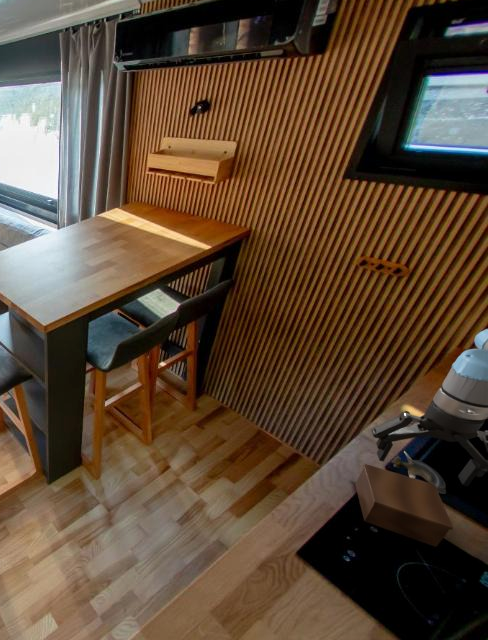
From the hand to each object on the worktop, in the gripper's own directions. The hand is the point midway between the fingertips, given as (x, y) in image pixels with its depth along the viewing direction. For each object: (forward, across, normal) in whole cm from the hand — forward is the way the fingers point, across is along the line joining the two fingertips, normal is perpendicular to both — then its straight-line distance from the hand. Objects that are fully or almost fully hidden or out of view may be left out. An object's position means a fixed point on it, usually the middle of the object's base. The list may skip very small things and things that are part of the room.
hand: (419, 468), depth 92 cm
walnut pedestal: (+4, -6, -14) cm, 16 cm away
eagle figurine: (+4, 0, 0) cm, 4 cm away
